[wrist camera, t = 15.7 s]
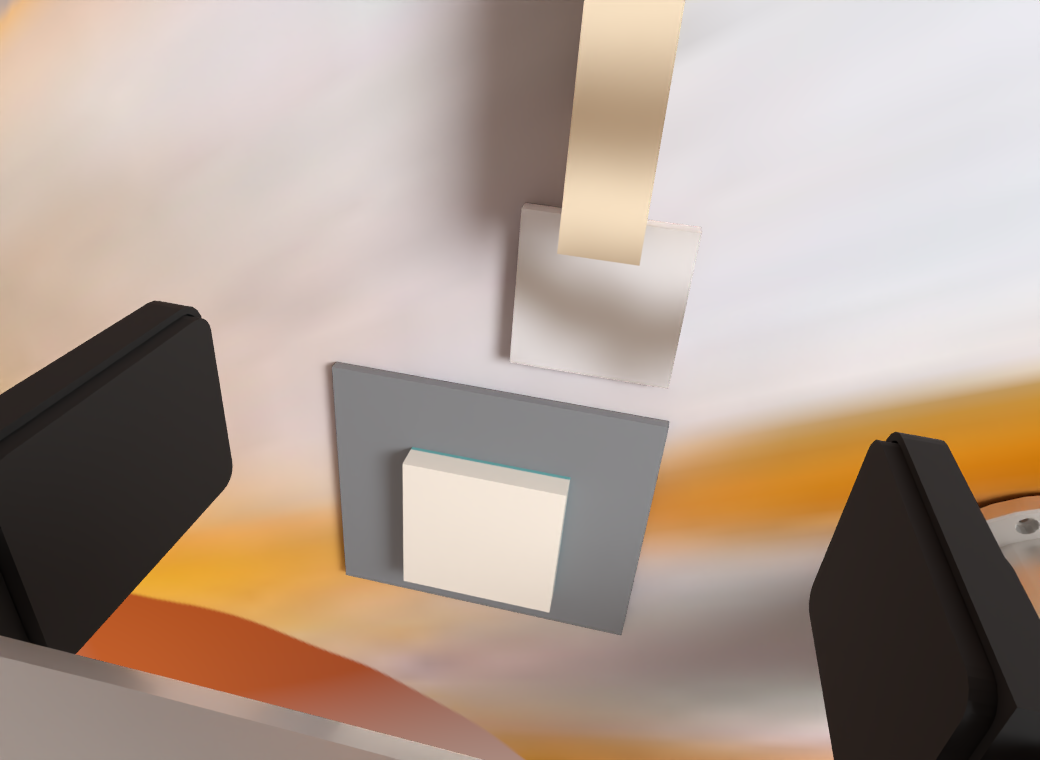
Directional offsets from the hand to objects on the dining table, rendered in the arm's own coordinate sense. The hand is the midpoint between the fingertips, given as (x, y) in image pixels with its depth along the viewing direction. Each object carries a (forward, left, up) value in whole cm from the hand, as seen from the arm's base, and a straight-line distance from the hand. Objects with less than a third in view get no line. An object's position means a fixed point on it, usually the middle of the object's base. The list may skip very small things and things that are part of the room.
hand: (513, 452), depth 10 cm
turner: (0, +1, -20) cm, 20 cm away
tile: (+4, +16, -19) cm, 25 cm away
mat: (+4, +19, -20) cm, 28 cm away
